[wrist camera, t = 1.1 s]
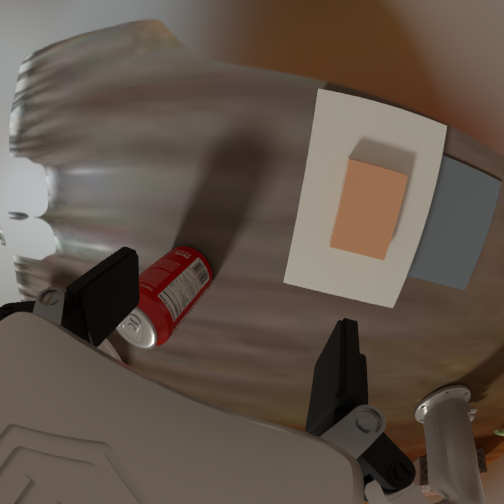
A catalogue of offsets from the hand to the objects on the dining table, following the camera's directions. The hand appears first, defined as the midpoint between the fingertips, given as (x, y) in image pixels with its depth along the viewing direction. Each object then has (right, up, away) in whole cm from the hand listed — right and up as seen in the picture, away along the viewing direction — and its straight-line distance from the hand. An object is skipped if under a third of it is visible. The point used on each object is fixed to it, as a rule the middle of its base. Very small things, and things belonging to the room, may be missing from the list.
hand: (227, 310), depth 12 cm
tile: (+13, +7, +15) cm, 21 cm away
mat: (+26, +6, +16) cm, 31 cm away
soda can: (-8, 0, +29) cm, 30 cm away
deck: (+14, +9, +18) cm, 25 cm away
